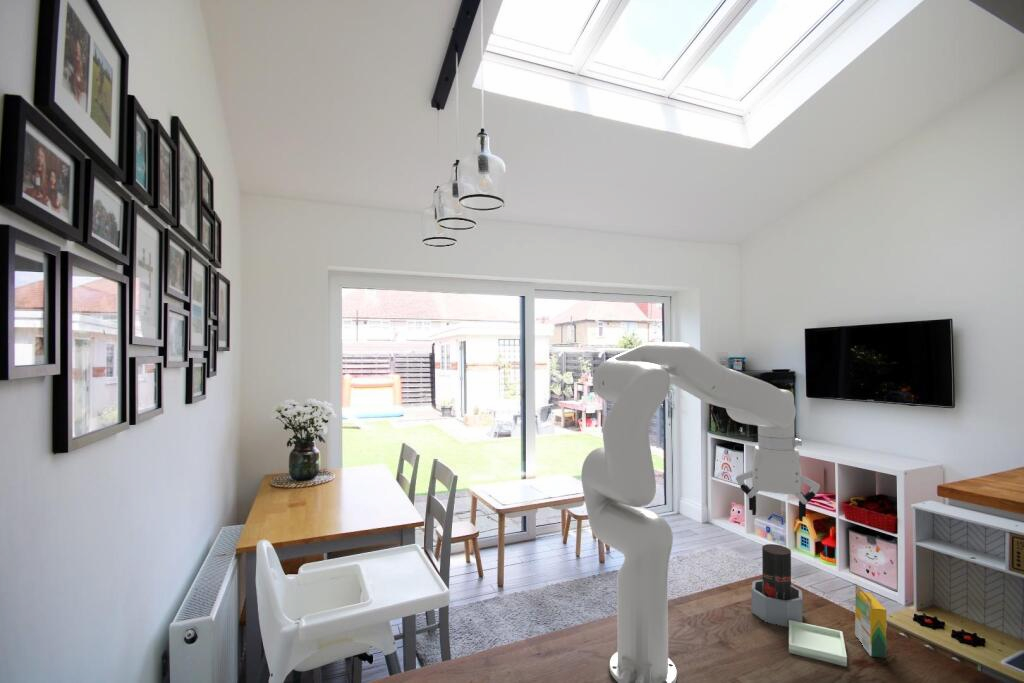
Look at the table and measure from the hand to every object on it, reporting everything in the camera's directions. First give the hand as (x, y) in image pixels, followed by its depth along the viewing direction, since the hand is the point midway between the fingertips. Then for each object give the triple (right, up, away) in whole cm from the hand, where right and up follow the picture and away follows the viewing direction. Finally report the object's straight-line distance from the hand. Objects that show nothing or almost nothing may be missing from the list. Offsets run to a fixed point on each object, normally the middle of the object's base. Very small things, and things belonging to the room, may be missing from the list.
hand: (777, 516), depth 122 cm
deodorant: (0, -23, 0) cm, 23 cm away
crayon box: (+13, -23, -13) cm, 29 cm away
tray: (+2, -23, -13) cm, 26 cm away
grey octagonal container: (0, -23, 0) cm, 23 cm away
